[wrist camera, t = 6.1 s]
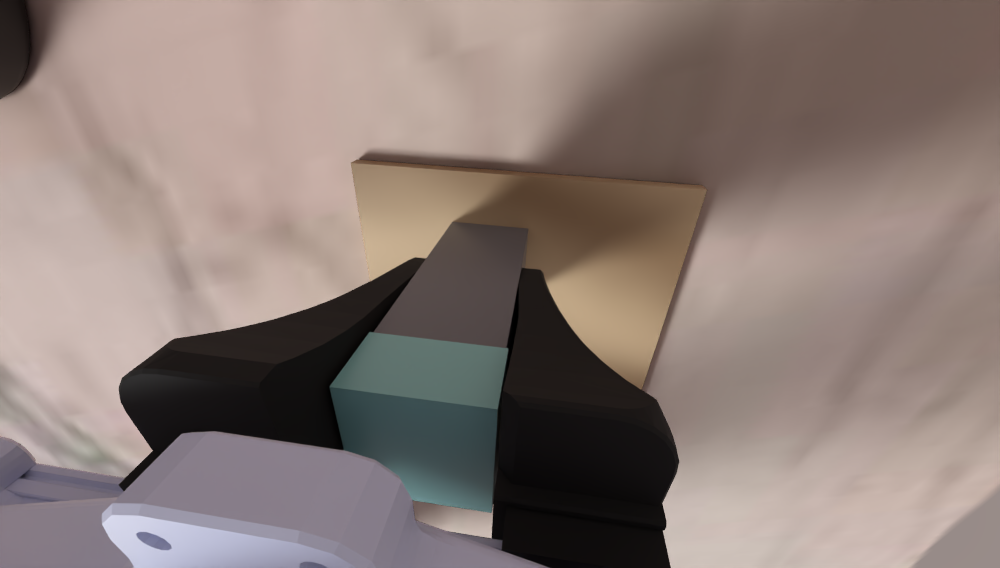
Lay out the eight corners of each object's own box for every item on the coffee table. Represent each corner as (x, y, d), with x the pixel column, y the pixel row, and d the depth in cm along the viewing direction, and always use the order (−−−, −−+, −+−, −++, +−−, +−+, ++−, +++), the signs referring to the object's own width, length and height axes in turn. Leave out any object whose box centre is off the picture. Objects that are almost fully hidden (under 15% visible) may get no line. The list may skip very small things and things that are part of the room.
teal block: (523, 296, 15) (491, 513, 8) (452, 288, 15) (353, 490, 8) (530, 227, 14) (498, 409, 6) (450, 220, 14) (329, 387, 7)
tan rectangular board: (611, 472, 21) (612, 481, 21) (399, 441, 22) (396, 449, 22) (703, 185, 13) (709, 190, 12) (355, 159, 14) (348, 162, 13)
